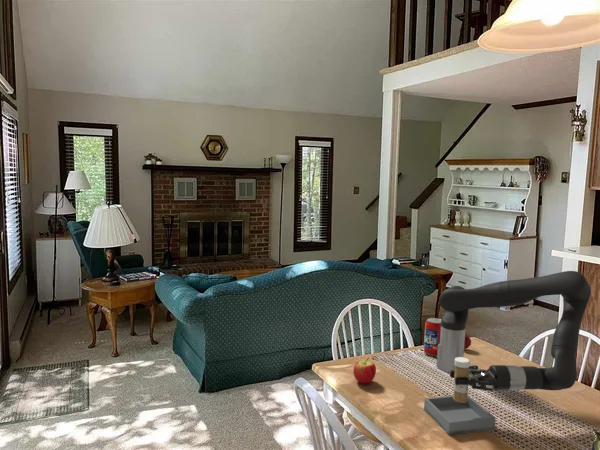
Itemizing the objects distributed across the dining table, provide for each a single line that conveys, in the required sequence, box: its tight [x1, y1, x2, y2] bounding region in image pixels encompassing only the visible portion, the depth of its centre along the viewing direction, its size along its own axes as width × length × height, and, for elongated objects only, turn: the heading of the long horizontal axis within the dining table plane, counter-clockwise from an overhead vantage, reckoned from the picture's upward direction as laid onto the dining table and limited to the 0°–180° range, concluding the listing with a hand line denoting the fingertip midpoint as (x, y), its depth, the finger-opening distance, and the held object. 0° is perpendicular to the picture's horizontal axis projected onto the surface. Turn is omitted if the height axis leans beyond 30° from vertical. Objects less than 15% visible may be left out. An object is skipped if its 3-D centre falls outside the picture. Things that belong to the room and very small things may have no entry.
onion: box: [464, 331, 472, 351], centre depth 215 cm, size 6×6×8 cm
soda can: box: [423, 317, 442, 357], centre depth 209 cm, size 8×8×15 cm
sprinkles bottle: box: [452, 357, 471, 403], centre depth 153 cm, size 5×5×13 cm
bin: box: [423, 395, 496, 436], centre depth 154 cm, size 16×16×4 cm
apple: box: [353, 357, 377, 384], centre depth 180 cm, size 8×8×10 cm
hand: (452, 377), depth 153 cm, fingers closed on sprinkles bottle, 4 cm apart
